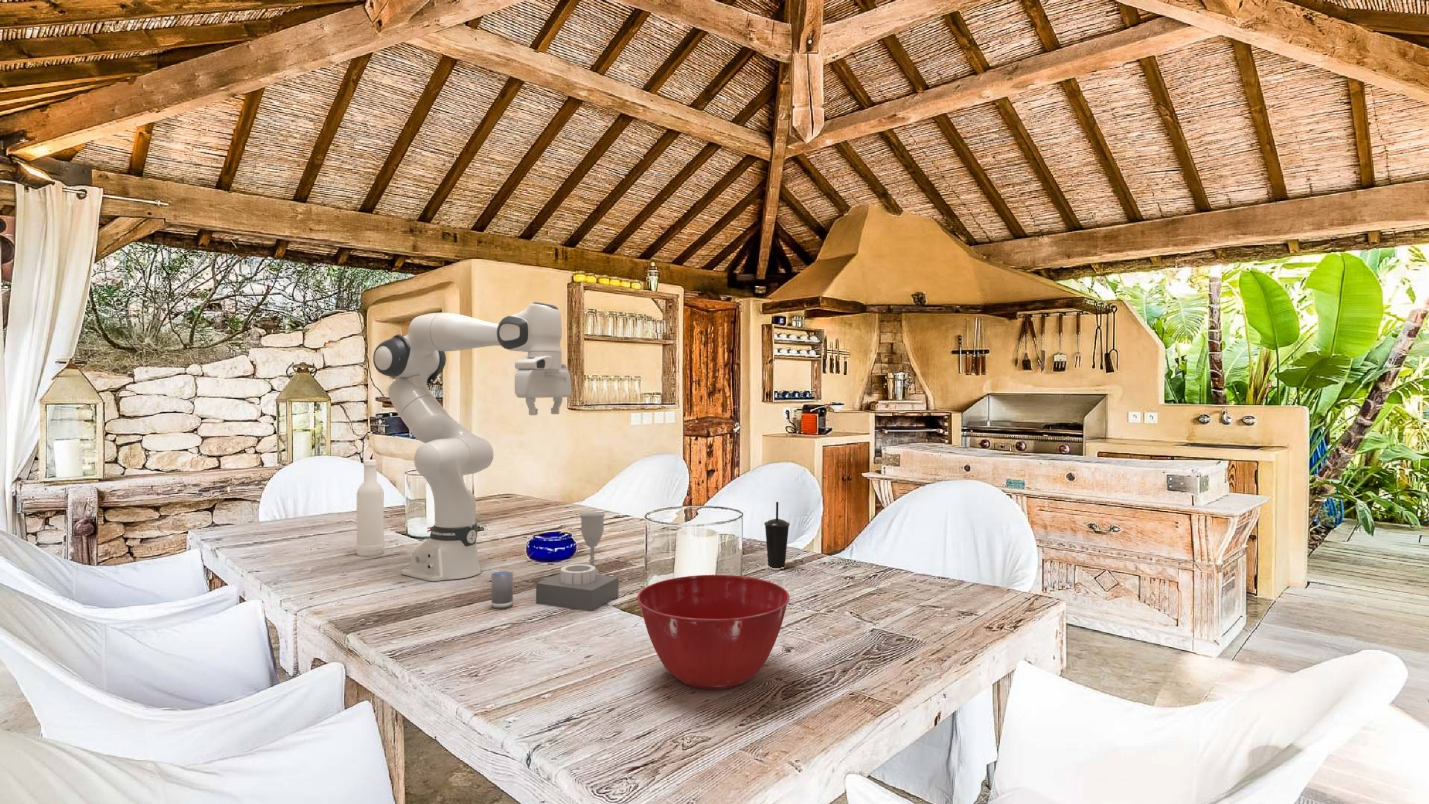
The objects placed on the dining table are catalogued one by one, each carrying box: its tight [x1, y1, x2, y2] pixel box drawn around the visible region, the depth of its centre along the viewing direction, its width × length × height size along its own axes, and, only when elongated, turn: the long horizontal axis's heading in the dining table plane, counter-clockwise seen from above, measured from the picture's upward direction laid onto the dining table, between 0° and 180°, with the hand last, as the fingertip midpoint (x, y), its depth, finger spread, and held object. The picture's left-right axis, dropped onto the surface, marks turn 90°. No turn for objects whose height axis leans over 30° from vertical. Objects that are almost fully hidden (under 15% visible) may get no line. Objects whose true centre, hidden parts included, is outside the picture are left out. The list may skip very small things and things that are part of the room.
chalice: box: [578, 511, 606, 575], centre depth 203 cm, size 7×7×18 cm
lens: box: [490, 571, 514, 610], centre depth 176 cm, size 5×5×8 cm
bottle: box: [356, 459, 385, 557], centre depth 230 cm, size 8×8×30 cm
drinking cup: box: [764, 501, 791, 568], centre depth 216 cm, size 8×8×20 cm
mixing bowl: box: [637, 574, 791, 690], centre depth 135 cm, size 28×28×15 cm
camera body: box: [535, 563, 620, 612], centre depth 182 cm, size 16×13×8 cm
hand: (544, 414), depth 193 cm, fingers open, 8 cm apart
